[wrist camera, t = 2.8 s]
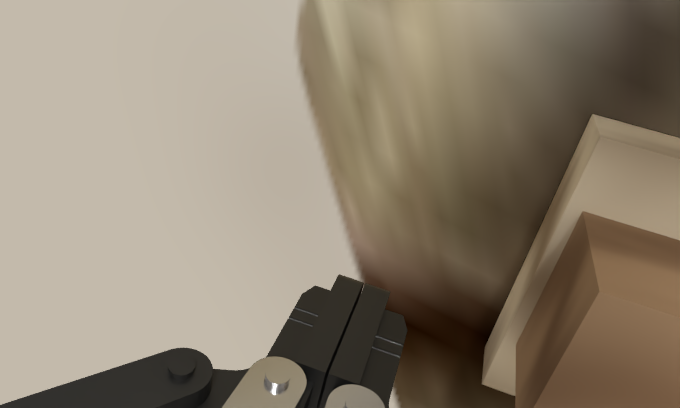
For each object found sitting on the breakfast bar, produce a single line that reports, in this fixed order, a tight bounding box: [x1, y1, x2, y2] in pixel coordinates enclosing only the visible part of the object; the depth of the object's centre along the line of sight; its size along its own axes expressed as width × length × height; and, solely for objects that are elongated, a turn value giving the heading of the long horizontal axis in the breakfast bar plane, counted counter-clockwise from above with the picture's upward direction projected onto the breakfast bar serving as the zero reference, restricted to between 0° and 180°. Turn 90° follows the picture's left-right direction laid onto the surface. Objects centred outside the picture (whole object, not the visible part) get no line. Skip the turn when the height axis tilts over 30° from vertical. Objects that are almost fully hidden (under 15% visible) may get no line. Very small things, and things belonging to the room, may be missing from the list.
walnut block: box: [515, 211, 680, 408], centre depth 15 cm, size 6×6×4 cm
